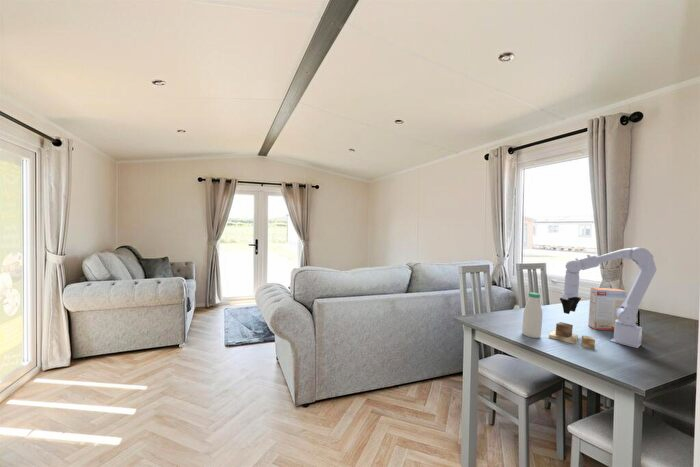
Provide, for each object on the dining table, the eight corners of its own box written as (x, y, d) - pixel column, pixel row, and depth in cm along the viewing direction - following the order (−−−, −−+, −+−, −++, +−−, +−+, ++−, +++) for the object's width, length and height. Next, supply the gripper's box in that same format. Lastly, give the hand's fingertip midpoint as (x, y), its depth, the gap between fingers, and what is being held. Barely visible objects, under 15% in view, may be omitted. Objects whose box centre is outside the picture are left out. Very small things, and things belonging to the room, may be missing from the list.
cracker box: (615, 328, 170) (618, 288, 169) (624, 331, 164) (627, 291, 163) (587, 325, 171) (590, 286, 170) (594, 329, 165) (597, 289, 164)
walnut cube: (571, 335, 149) (572, 325, 149) (567, 337, 146) (568, 326, 146) (559, 332, 153) (560, 322, 153) (555, 334, 150) (556, 323, 150)
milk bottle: (543, 339, 147) (546, 295, 146) (525, 337, 149) (528, 294, 148) (537, 333, 155) (540, 292, 154) (519, 331, 156) (522, 290, 155)
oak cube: (592, 346, 142) (593, 337, 142) (594, 349, 138) (595, 339, 138) (581, 344, 144) (581, 335, 143) (583, 347, 140) (583, 338, 140)
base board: (577, 338, 150) (578, 335, 150) (574, 344, 143) (575, 340, 143) (552, 332, 157) (553, 329, 157) (548, 337, 150) (549, 334, 150)
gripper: (567, 282, 166) (565, 308, 166) (556, 284, 157) (554, 312, 157) (583, 284, 160) (581, 311, 161) (573, 287, 151) (571, 316, 152)
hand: (569, 312), depth 159 cm, fingers open, 7 cm apart
